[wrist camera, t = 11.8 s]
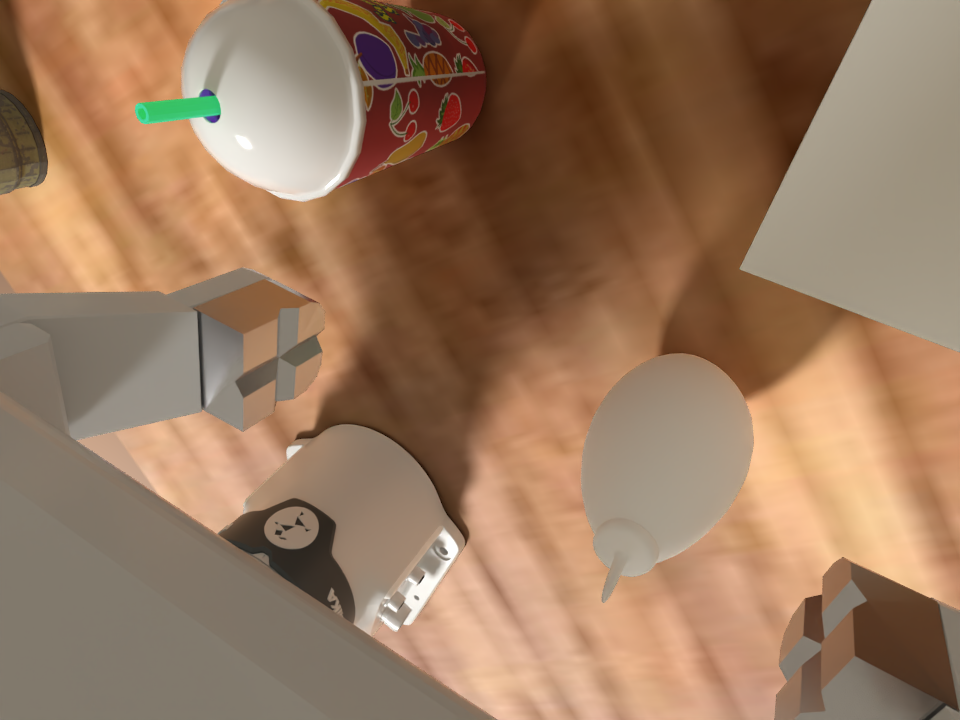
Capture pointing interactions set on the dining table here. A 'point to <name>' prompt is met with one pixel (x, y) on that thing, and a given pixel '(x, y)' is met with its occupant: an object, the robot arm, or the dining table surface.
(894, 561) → the dining table surface
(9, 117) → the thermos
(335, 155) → the smoothie
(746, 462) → the sauce bottle
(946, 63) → the cream armchair block
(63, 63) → the dining table surface
